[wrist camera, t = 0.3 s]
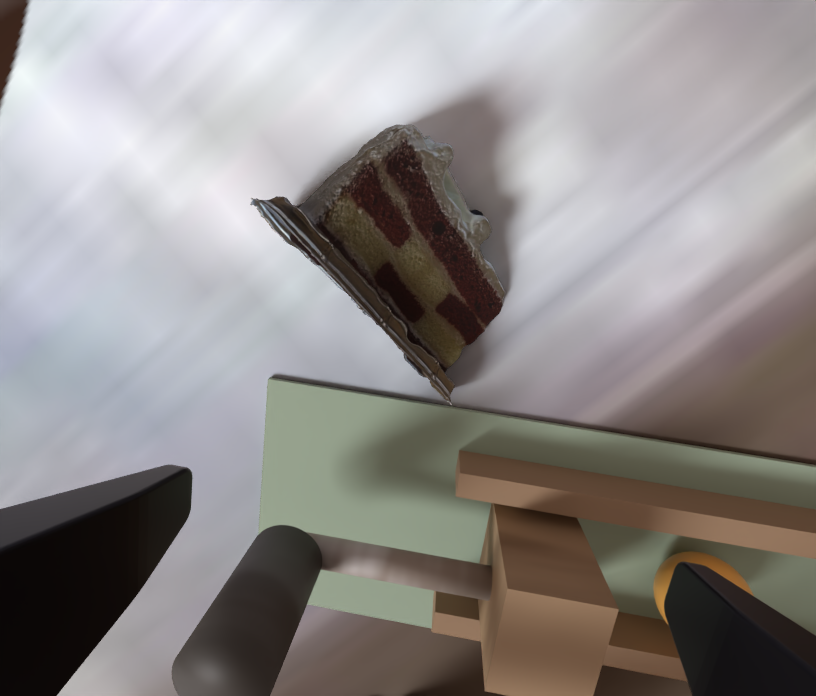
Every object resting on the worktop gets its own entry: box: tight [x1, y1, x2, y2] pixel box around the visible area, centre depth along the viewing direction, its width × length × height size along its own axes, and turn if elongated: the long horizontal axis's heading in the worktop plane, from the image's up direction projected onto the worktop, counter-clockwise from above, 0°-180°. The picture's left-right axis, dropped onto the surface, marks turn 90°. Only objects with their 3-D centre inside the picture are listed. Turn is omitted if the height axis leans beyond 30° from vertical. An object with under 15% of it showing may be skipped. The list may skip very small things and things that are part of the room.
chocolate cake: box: [250, 125, 505, 405], centre depth 19 cm, size 10×7×12 cm
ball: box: [653, 551, 754, 624], centre depth 21 cm, size 4×4×4 cm
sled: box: [172, 503, 619, 696], centre depth 18 cm, size 5×15×10 cm, turn 83°
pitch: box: [258, 377, 816, 681], centre depth 22 cm, size 13×40×3 cm, turn 83°
